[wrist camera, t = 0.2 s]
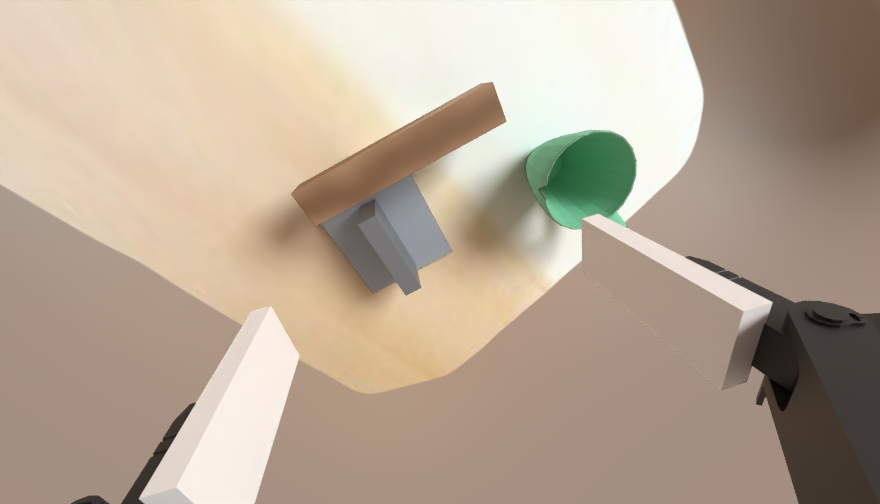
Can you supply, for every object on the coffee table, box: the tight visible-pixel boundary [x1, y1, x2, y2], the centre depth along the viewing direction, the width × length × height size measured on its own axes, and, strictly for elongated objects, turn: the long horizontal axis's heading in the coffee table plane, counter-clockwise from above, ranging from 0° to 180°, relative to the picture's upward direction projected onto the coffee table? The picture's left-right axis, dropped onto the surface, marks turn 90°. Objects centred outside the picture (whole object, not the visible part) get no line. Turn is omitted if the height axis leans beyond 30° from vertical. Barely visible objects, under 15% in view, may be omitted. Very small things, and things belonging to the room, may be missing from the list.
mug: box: [526, 130, 636, 229], centre depth 37 cm, size 15×10×10 cm
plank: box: [291, 82, 507, 226], centre depth 30 cm, size 4×20×4 cm, turn 117°
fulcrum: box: [321, 174, 452, 295], centre depth 37 cm, size 12×12×7 cm
